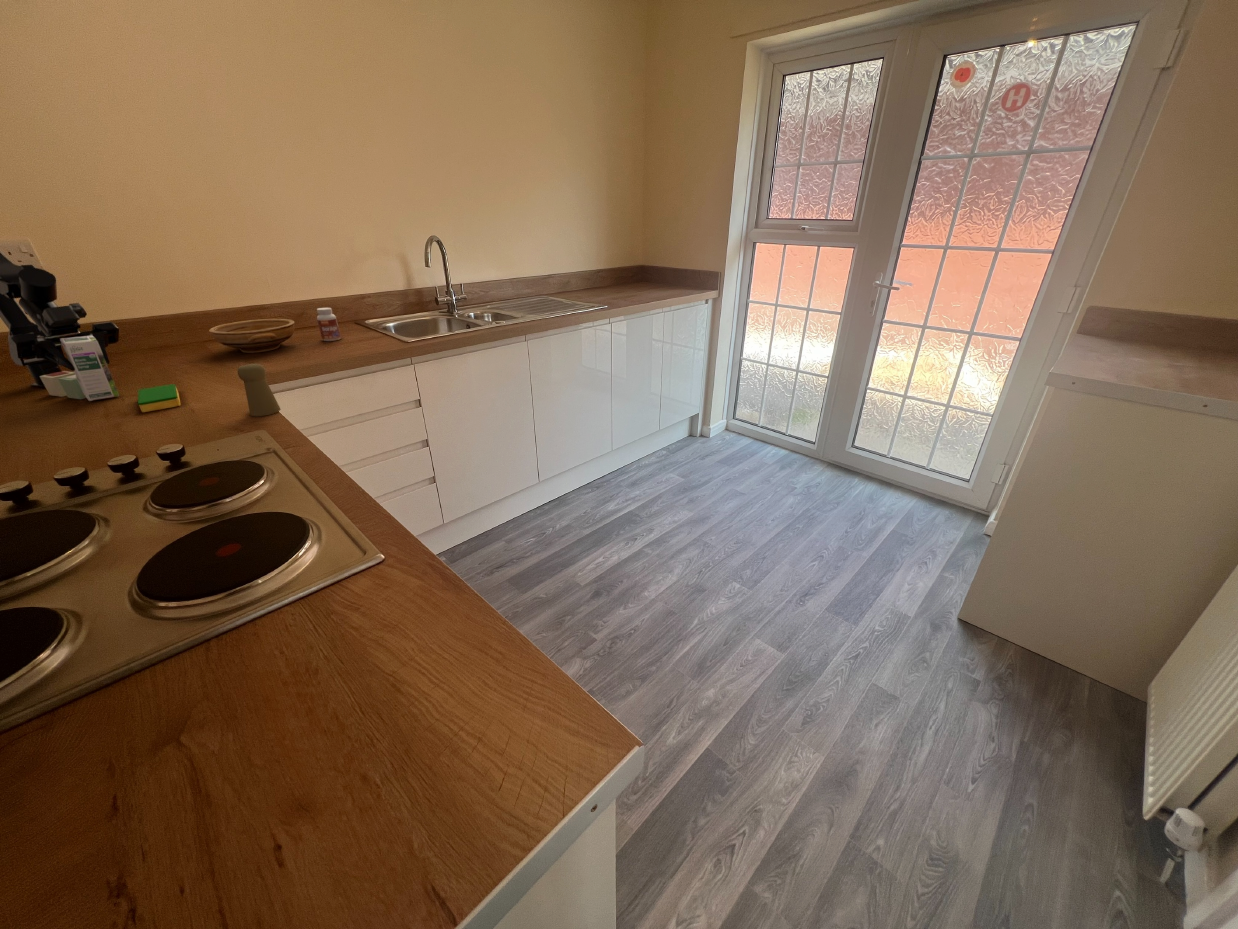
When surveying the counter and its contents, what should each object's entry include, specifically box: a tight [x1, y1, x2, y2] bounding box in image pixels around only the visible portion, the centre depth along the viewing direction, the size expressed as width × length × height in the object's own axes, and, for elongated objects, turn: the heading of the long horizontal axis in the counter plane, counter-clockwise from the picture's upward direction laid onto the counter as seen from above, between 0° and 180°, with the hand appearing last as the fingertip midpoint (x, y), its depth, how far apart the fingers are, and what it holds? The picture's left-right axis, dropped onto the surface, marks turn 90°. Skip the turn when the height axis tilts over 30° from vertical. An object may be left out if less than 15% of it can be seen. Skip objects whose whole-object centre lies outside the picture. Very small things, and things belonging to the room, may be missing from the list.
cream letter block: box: [40, 370, 75, 398], centre depth 129 cm, size 5×5×5 cm
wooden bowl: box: [208, 318, 296, 354], centre depth 171 cm, size 30×24×8 cm
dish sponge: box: [137, 383, 182, 413], centre depth 122 cm, size 7×14×2 cm, turn 40°
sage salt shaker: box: [237, 363, 281, 417], centre depth 113 cm, size 6×6×11 cm
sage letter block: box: [59, 375, 87, 400], centre depth 127 cm, size 5×5×5 cm
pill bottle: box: [316, 307, 342, 342], centre depth 181 cm, size 6×6×11 cm
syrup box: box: [60, 335, 120, 402], centre depth 123 cm, size 6×6×14 cm
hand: (91, 366), depth 122 cm, fingers closed on syrup box, 6 cm apart
